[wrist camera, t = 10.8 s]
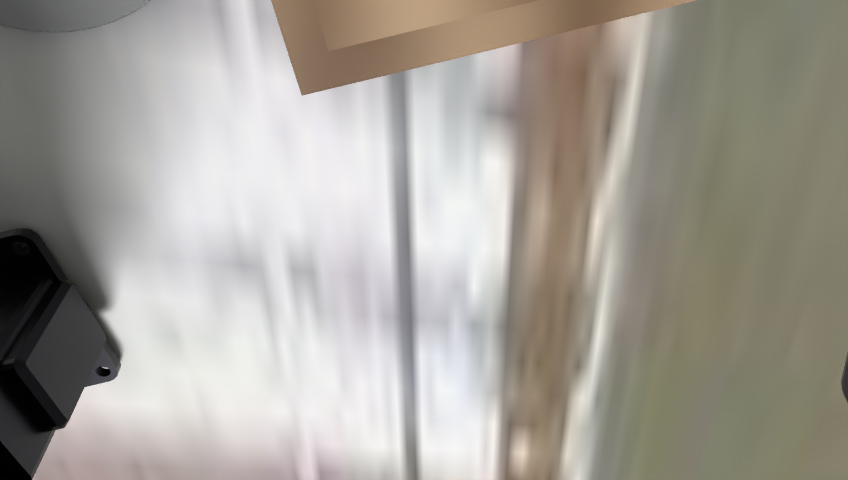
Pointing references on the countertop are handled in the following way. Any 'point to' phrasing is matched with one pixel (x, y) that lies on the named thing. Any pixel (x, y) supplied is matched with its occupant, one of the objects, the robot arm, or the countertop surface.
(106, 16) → the grey coaster
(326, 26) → the walnut stand
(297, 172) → the countertop surface
